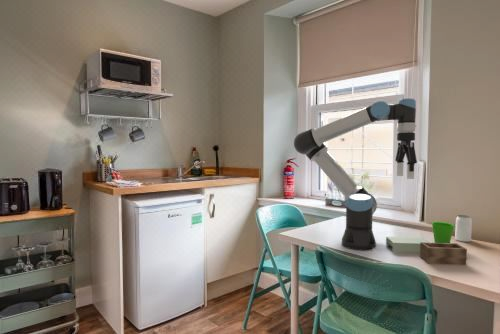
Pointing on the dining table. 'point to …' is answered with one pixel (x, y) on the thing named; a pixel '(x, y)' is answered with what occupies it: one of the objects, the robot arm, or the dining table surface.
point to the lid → (405, 244)
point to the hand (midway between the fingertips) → (404, 177)
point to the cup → (442, 232)
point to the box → (443, 253)
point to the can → (463, 228)
